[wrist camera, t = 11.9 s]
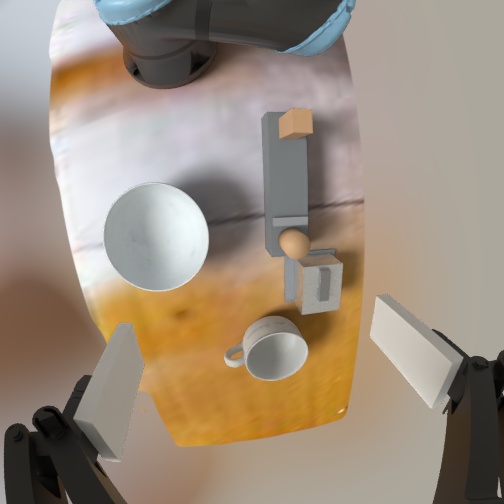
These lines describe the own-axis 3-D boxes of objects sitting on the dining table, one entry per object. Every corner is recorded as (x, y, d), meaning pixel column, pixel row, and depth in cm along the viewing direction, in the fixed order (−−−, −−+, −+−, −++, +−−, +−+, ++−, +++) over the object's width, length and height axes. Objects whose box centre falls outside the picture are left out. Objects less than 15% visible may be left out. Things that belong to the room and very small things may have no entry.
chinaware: (119, 181, 39) (101, 183, 32) (212, 181, 41) (211, 183, 34) (122, 270, 43) (107, 289, 36) (208, 273, 45) (208, 293, 38)
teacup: (300, 308, 50) (314, 331, 42) (291, 355, 53) (302, 381, 45) (224, 307, 48) (226, 332, 40) (221, 356, 50) (224, 384, 43)
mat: (284, 252, 46) (285, 253, 46) (334, 248, 47) (335, 249, 47) (284, 301, 49) (285, 301, 48) (331, 295, 50) (332, 296, 49)
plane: (261, 118, 39) (278, 99, 28) (295, 119, 40) (323, 102, 29) (265, 248, 45) (283, 273, 34) (297, 245, 46) (324, 269, 35)
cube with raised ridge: (292, 255, 46) (305, 269, 39) (328, 252, 47) (345, 265, 40) (292, 298, 48) (303, 317, 42) (326, 294, 49) (341, 312, 42)
